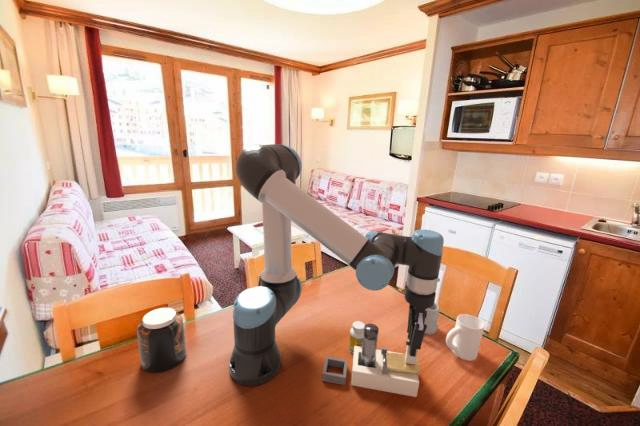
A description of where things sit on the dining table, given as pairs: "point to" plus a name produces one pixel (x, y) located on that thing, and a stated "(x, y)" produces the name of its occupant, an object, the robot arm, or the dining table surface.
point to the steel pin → (369, 345)
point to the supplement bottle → (356, 335)
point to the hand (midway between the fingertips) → (410, 361)
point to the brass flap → (399, 363)
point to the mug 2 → (465, 337)
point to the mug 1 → (432, 319)
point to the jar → (161, 340)
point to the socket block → (382, 375)
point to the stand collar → (332, 376)
